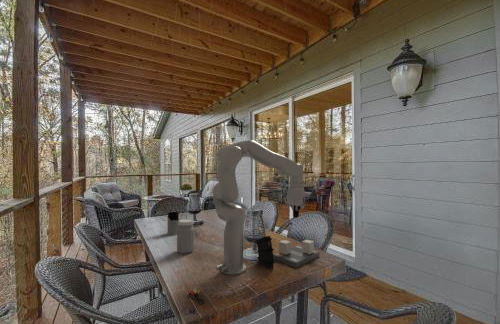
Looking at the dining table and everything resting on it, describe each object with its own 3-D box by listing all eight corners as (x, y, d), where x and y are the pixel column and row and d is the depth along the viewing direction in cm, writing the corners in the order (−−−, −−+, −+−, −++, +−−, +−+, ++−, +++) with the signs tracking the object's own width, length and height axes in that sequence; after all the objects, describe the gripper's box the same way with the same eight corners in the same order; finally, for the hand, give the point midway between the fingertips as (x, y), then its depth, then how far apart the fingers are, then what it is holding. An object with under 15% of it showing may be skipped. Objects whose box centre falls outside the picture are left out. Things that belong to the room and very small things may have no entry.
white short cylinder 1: (285, 254, 133) (285, 243, 133) (278, 252, 136) (279, 241, 136) (290, 252, 136) (290, 241, 136) (284, 250, 140) (284, 239, 140)
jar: (189, 255, 140) (190, 223, 140) (173, 253, 141) (174, 222, 142) (196, 249, 149) (197, 219, 149) (181, 248, 151) (182, 218, 151)
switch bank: (296, 267, 124) (296, 262, 124) (273, 259, 134) (273, 254, 134) (319, 256, 139) (319, 251, 139) (296, 249, 150) (296, 245, 150)
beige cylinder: (309, 254, 134) (309, 243, 134) (302, 252, 137) (302, 241, 137) (314, 252, 137) (314, 241, 137) (306, 250, 141) (307, 239, 141)
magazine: (271, 268, 119) (264, 236, 124) (259, 270, 129) (253, 241, 135) (277, 267, 120) (271, 235, 126) (265, 269, 131) (260, 240, 137)
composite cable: (205, 304, 92) (205, 297, 92) (193, 307, 89) (193, 300, 89) (198, 292, 100) (198, 285, 100) (186, 294, 98) (186, 288, 98)
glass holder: (166, 232, 184) (166, 212, 184) (185, 230, 190) (185, 210, 190) (167, 235, 176) (167, 214, 176) (187, 233, 182) (188, 213, 182)
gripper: (281, 184, 146) (281, 215, 146) (303, 186, 135) (303, 220, 135) (289, 184, 151) (289, 214, 151) (311, 185, 140) (310, 218, 140)
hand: (295, 217), depth 143 cm, fingers closed
